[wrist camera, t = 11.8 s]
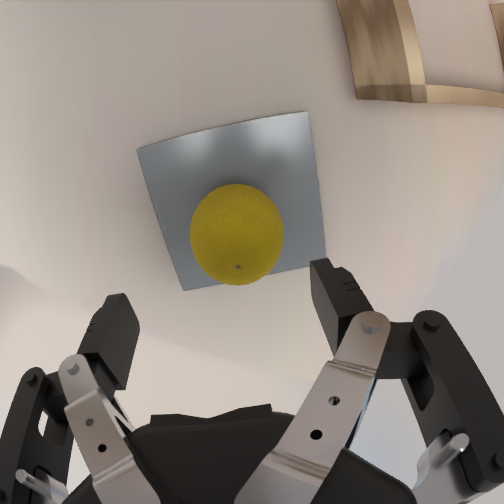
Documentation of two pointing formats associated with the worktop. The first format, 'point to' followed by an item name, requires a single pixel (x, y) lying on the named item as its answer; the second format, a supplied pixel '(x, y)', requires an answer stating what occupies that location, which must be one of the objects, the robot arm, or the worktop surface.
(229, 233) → the lemon
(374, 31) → the open u-shaped oak frame
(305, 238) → the slate coaster
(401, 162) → the worktop surface
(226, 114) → the worktop surface
